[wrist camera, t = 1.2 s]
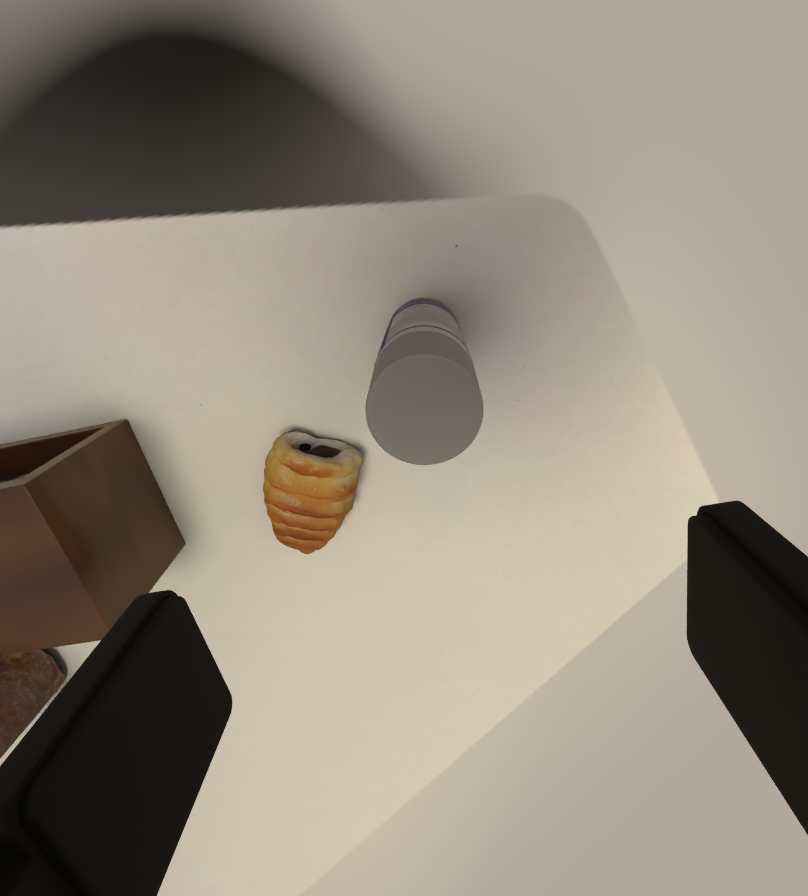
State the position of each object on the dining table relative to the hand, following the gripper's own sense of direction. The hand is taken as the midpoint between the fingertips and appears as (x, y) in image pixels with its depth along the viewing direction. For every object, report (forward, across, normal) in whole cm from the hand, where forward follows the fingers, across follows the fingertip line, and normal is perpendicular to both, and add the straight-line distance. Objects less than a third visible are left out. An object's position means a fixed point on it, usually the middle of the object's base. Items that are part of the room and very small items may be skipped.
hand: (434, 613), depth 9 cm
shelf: (+25, +29, +6) cm, 39 cm away
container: (+26, 0, -1) cm, 26 cm away
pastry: (+26, +10, +8) cm, 29 cm away
